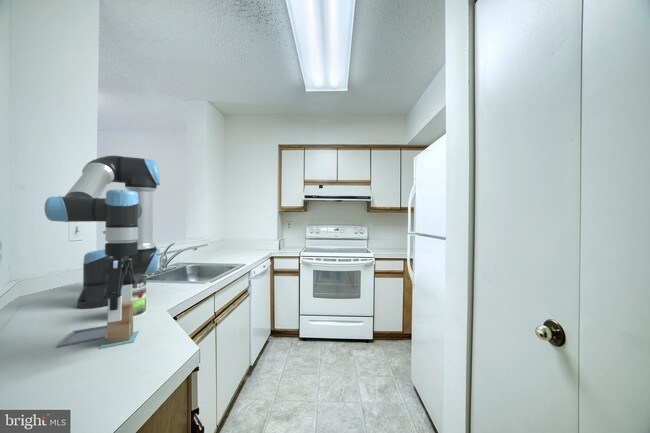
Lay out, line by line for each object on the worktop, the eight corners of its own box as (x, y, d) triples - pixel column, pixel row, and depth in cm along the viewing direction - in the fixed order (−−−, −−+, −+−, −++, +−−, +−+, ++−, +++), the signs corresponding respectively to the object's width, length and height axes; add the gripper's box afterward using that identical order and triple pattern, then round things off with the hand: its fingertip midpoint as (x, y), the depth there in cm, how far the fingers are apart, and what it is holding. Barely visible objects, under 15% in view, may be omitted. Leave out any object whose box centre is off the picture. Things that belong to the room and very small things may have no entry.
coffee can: (152, 311, 96) (153, 275, 96) (126, 321, 85) (127, 281, 86) (131, 309, 98) (132, 274, 98) (103, 319, 87) (104, 280, 88)
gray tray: (73, 334, 76) (73, 330, 76) (114, 327, 81) (114, 324, 81) (57, 348, 67) (57, 344, 67) (104, 340, 72) (104, 336, 72)
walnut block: (111, 337, 73) (112, 303, 73) (132, 333, 75) (133, 301, 75) (106, 344, 68) (107, 309, 68) (129, 340, 71) (129, 306, 71)
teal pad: (107, 338, 73) (107, 336, 73) (138, 332, 77) (138, 331, 77) (99, 350, 66) (99, 347, 67) (133, 343, 70) (133, 341, 70)
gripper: (117, 238, 81) (116, 301, 81) (89, 246, 59) (88, 332, 59) (144, 238, 85) (143, 298, 85) (128, 245, 63) (127, 326, 63)
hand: (121, 312), depth 72 cm, fingers open, 13 cm apart
